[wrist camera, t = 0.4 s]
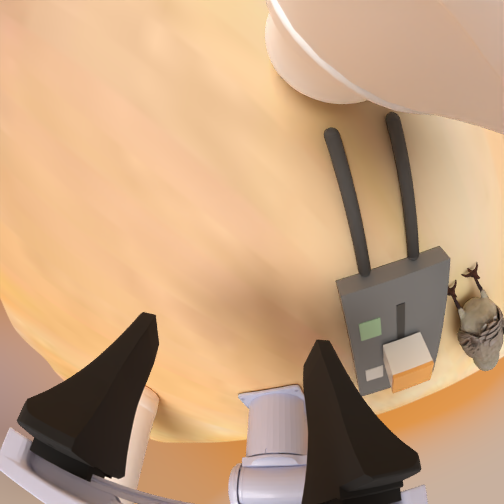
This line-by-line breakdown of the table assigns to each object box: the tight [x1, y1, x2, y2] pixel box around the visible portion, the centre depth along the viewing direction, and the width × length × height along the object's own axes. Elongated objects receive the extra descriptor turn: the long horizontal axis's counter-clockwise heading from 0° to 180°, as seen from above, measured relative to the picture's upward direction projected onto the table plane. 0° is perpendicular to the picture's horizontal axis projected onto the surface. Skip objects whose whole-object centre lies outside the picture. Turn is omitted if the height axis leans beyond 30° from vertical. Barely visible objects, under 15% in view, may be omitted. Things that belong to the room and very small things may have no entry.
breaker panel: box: [336, 246, 450, 396], centre depth 24 cm, size 18×10×2 cm, turn 21°
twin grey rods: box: [324, 112, 419, 277], centre depth 18 cm, size 12×6×1 cm, turn 21°
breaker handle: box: [383, 332, 434, 393], centre depth 22 cm, size 3×4×4 cm
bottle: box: [104, 386, 159, 504], centre depth 22 cm, size 8×8×30 cm
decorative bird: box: [447, 263, 504, 371], centre depth 21 cm, size 6×17×8 cm, turn 44°
